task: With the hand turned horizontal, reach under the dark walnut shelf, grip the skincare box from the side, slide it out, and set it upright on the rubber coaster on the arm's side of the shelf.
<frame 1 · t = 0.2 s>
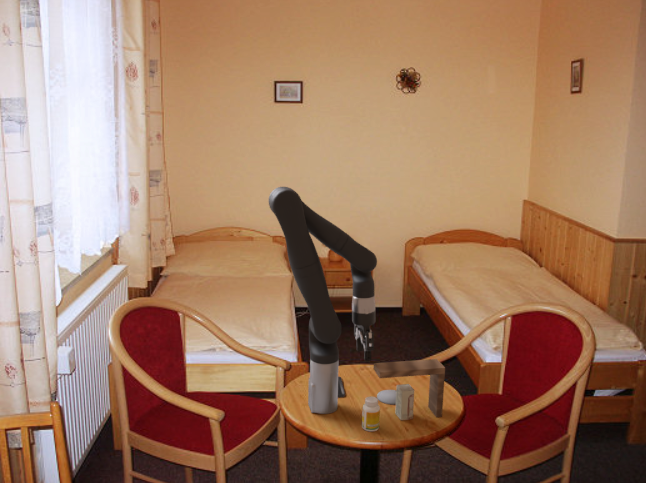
hand: (363, 355, 202), 17 cm above the table, tool pointing down, fingers open, 8 cm apart
skincare box: (403, 416, 199), on the table
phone: (332, 389, 218), on the table
rubber coaster: (391, 397, 211), on the table
supplement bottle: (370, 428, 191), on the table
walnut shelf: (405, 414, 200), on the table
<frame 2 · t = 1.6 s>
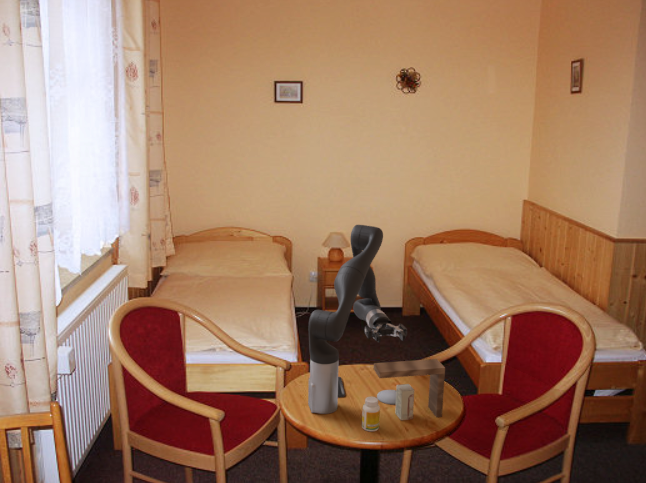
hand: (391, 338, 210), 20 cm above the table, tool horizontal, fingers open, 8 cm apart
nothing on the table moved.
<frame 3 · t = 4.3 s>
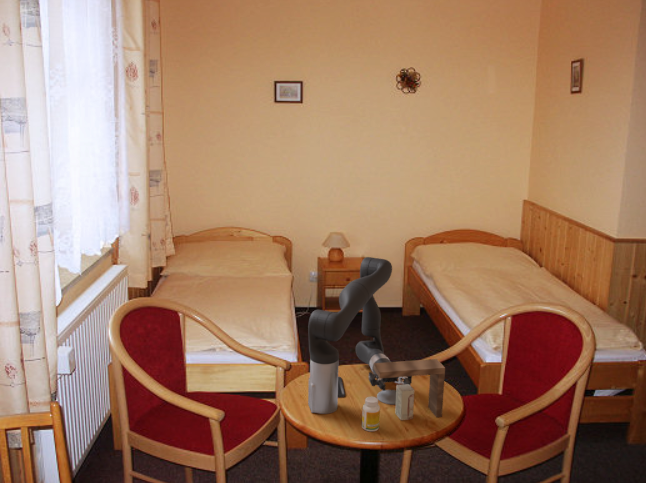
hand: (396, 387, 205), 6 cm above the table, tool horizontal, fingers open, 8 cm apart
nothing on the table moved.
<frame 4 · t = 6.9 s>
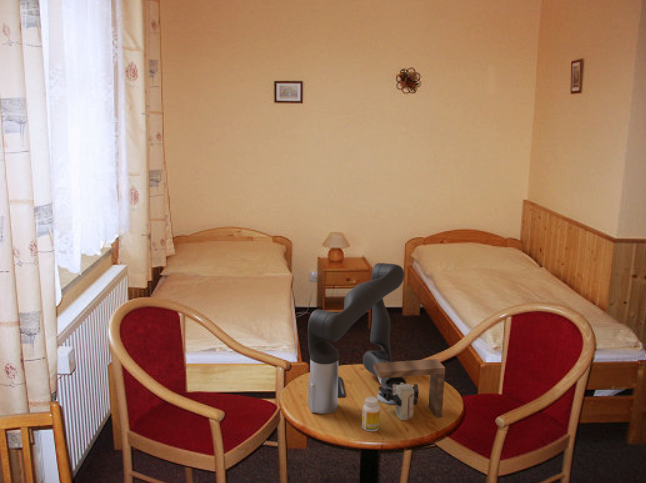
hand: (407, 402, 195), 6 cm above the table, tool horizontal, fingers closed on skincare box, 4 cm apart
skincare box: (404, 416, 199), on the table, touching gripper
everything else where it was.
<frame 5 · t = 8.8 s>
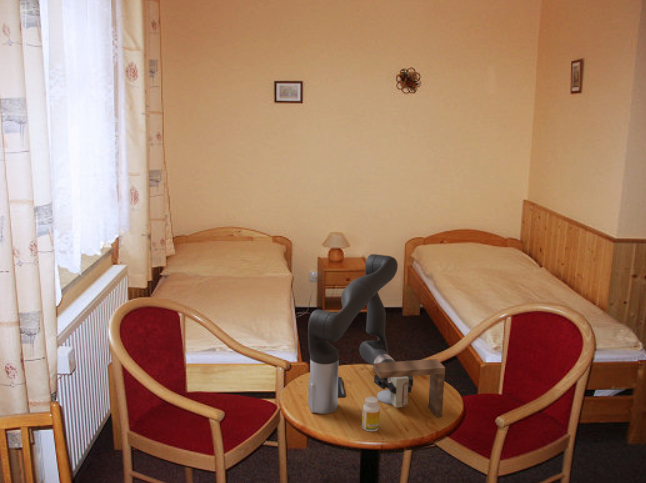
hand: (402, 390, 200), 8 cm above the table, tool horizontal, fingers closed on skincare box, 4 cm apart
skincare box: (398, 404, 204), point 1 cm above the table, touching gripper
everything else where it was.
when the fingers open (7 cm above the table, at t = 11.0 s): skincare box stays where it is, resting on rubber coaster.
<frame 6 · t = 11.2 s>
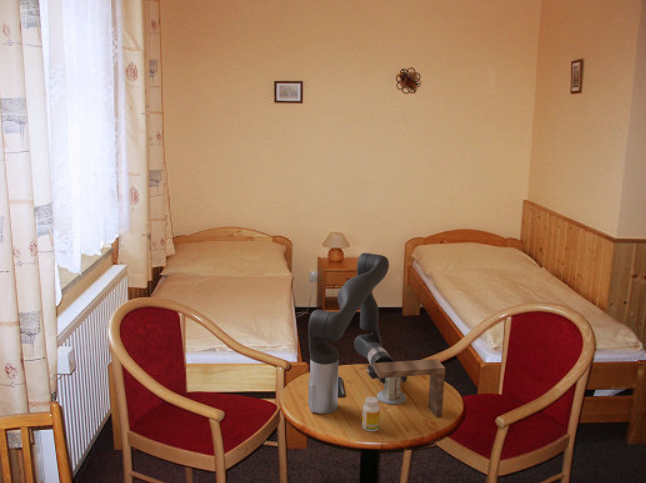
hand: (394, 380, 207), 8 cm above the table, tool horizontal, fingers open, 6 cm apart
skincare box: (391, 396, 211), resting on rubber coaster
everything else where it was.
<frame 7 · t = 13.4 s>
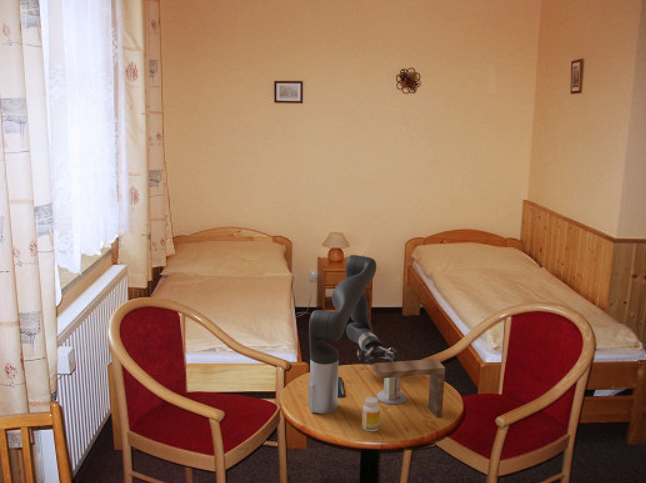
hand: (382, 361, 220), 9 cm above the table, tool horizontal, fingers open, 8 cm apart
nothing on the table moved.
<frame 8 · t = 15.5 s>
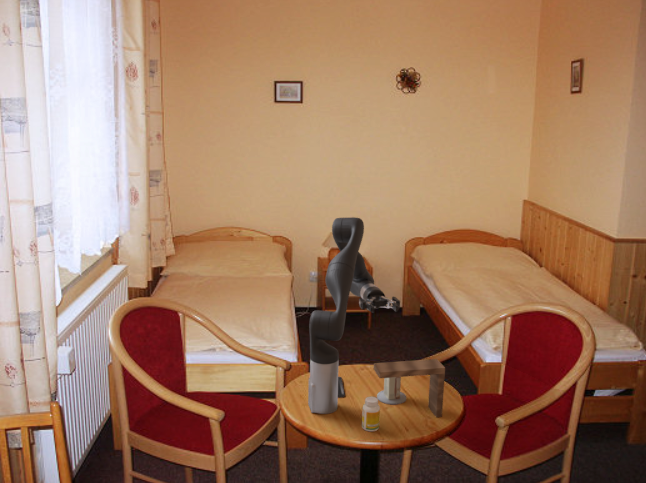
hand: (385, 309, 216), 28 cm above the table, tool horizontal, fingers open, 8 cm apart
nothing on the table moved.
at the end: skincare box inside the target area (0.2 cm from its centre), resting on rubber coaster; skincare box tilted 0°; the gripper is holding nothing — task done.
